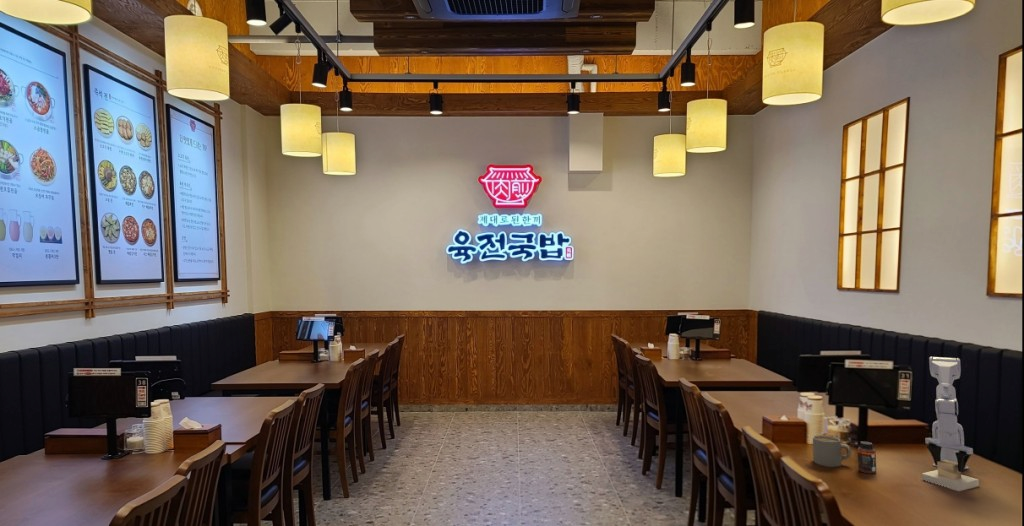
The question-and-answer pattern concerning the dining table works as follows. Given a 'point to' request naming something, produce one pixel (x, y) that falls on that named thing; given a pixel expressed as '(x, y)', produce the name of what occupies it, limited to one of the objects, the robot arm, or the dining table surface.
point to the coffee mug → (829, 451)
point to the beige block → (951, 481)
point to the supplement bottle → (866, 458)
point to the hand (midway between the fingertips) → (949, 468)
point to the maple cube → (948, 469)
